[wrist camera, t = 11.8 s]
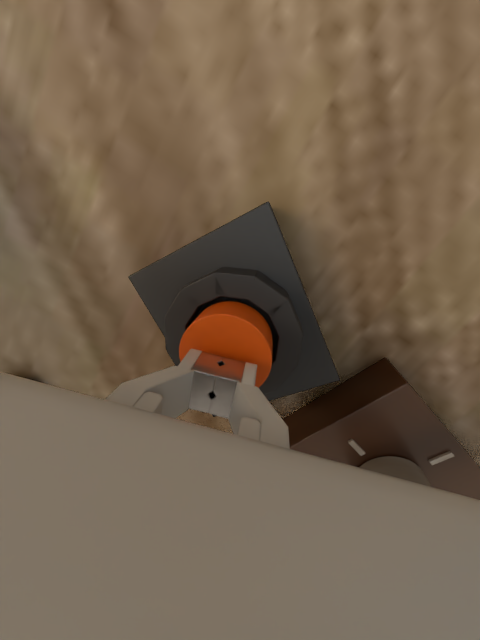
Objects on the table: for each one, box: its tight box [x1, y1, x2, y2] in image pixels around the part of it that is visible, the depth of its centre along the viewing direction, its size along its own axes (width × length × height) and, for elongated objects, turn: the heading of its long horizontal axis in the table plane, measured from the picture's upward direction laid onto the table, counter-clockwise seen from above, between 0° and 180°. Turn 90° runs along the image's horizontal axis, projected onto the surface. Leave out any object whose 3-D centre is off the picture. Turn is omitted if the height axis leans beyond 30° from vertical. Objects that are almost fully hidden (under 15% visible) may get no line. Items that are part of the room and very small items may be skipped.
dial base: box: [283, 358, 480, 500], centre depth 18 cm, size 12×10×3 cm
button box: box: [129, 202, 340, 417], centre depth 15 cm, size 11×9×4 cm
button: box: [179, 301, 273, 388], centre depth 12 cm, size 4×4×2 cm
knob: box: [359, 456, 432, 487], centre depth 14 cm, size 4×4×5 cm
